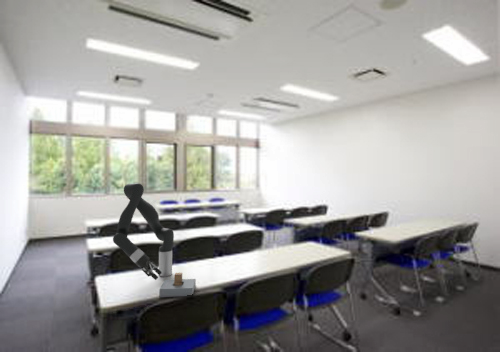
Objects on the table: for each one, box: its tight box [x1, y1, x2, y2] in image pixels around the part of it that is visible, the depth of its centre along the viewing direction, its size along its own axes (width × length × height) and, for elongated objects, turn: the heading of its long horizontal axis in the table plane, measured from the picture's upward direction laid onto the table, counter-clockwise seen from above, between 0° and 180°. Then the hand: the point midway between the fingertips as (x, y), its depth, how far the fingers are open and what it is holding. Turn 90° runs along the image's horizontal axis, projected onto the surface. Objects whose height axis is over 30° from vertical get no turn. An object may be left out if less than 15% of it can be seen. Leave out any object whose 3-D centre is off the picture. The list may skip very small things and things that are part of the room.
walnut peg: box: [173, 272, 183, 286], centre depth 164 cm, size 4×4×10 cm
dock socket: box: [158, 278, 197, 298], centre depth 164 cm, size 15×19×4 cm
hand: (158, 276), depth 163 cm, fingers open, 8 cm apart
